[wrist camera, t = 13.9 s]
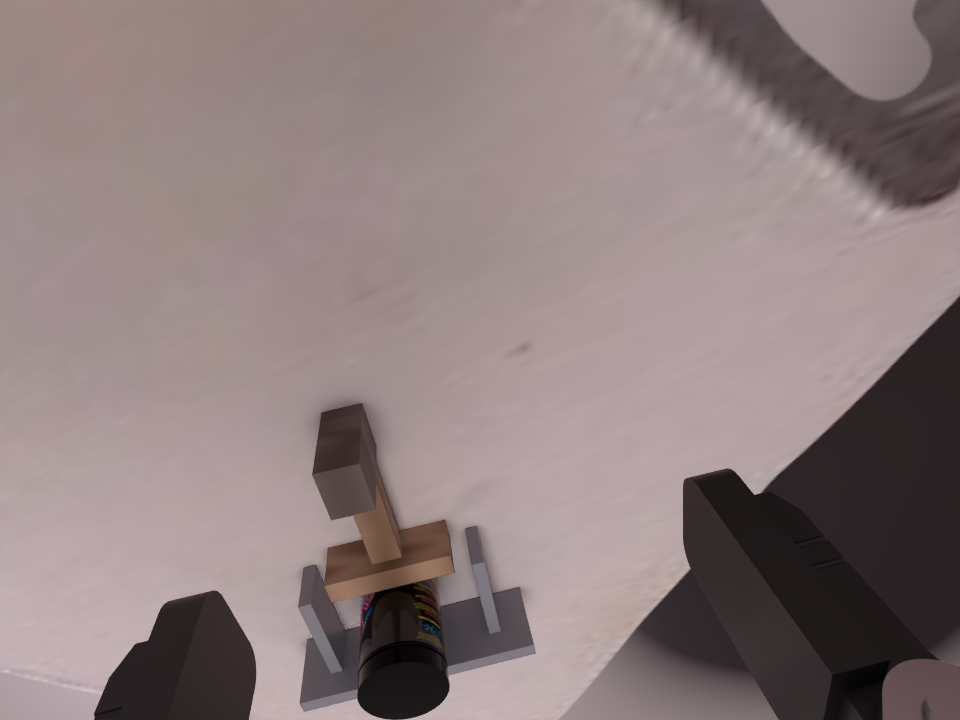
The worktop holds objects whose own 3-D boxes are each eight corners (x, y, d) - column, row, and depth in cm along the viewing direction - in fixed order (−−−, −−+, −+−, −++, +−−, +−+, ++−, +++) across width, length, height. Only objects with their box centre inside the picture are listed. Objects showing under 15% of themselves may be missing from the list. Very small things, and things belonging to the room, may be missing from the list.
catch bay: (311, 647, 55) (304, 711, 49) (274, 574, 50) (262, 637, 45) (521, 595, 56) (535, 653, 50) (505, 519, 51) (519, 574, 45)
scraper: (335, 563, 50) (329, 636, 44) (274, 423, 43) (256, 487, 37) (449, 535, 51) (459, 603, 45) (408, 392, 43) (413, 450, 37)
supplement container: (383, 541, 50) (383, 653, 41) (451, 563, 52) (467, 674, 43) (347, 593, 52) (340, 710, 43) (414, 612, 55) (421, 727, 45)
